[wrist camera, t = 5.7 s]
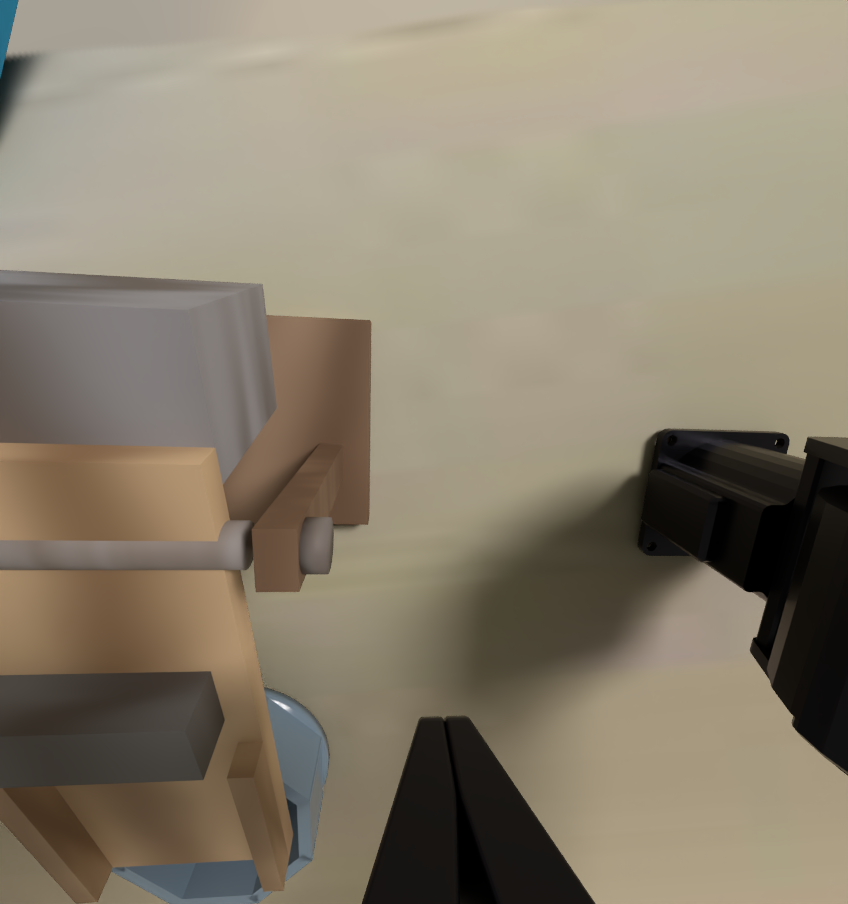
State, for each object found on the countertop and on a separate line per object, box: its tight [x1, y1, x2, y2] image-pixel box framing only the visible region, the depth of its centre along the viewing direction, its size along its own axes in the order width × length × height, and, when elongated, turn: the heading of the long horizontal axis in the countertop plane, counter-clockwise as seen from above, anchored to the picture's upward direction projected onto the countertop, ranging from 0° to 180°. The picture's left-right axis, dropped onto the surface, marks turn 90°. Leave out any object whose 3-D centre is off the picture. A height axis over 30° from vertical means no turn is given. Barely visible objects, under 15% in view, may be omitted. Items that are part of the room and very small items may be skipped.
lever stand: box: [223, 315, 371, 592], centre depth 13 cm, size 14×9×10 cm, turn 88°
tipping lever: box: [0, 270, 293, 903], centre depth 14 cm, size 9×22×7 cm, turn 177°
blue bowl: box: [112, 688, 330, 904], centre depth 21 cm, size 10×10×4 cm
